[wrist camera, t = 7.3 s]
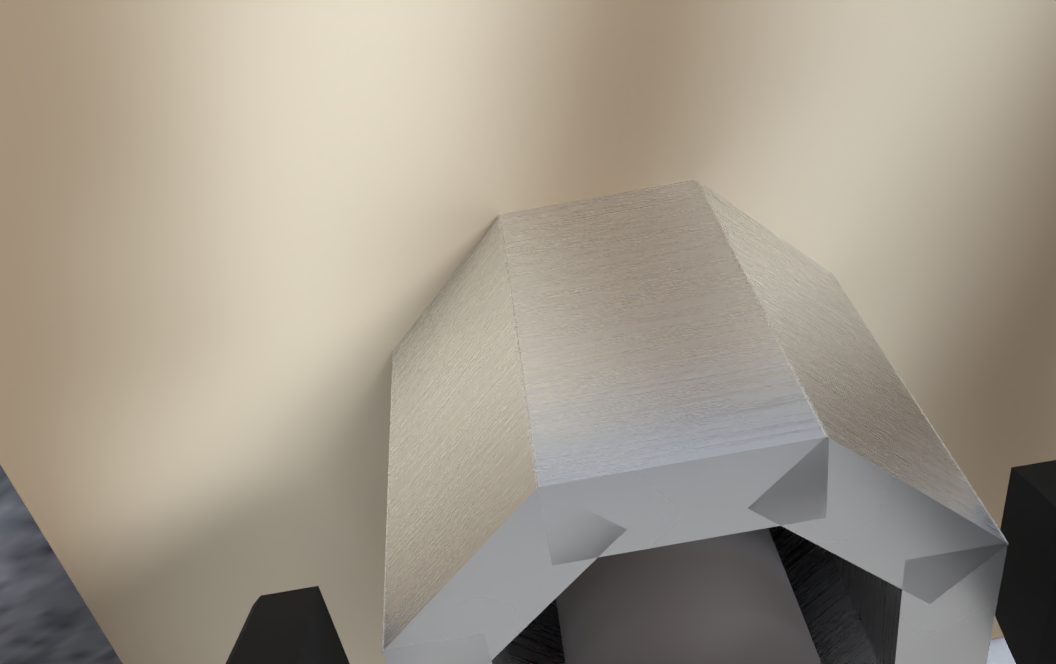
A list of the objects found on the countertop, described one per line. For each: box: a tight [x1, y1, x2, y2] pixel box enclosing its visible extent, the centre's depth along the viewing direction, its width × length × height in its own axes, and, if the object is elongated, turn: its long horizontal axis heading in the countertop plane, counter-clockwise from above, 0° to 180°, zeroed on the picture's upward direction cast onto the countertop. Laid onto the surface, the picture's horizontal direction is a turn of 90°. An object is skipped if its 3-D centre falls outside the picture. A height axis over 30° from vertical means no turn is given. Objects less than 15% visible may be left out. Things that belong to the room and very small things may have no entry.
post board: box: [0, 0, 1056, 664], centre depth 12 cm, size 16×13×6 cm
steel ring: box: [382, 179, 1009, 664], centre depth 11 cm, size 6×6×4 cm
